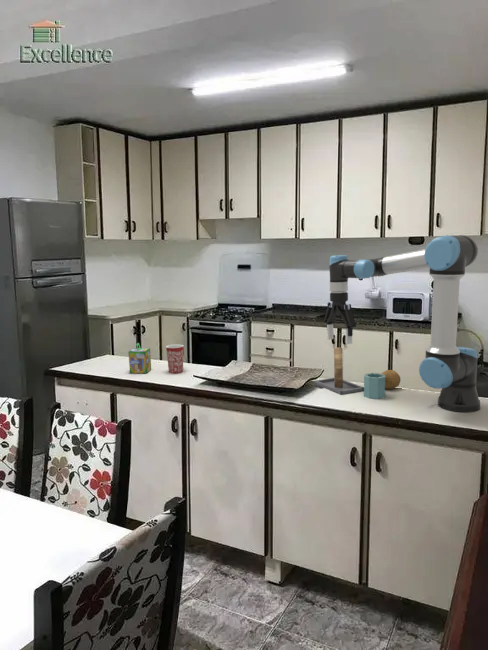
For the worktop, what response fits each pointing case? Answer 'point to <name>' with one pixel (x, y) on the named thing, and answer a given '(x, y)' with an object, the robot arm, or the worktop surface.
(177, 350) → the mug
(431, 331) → the robot arm
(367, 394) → the cup
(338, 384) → the dowel
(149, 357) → the chalk box
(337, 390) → the tray
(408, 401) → the worktop surface
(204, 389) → the worktop surface
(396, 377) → the potato
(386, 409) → the worktop surface
